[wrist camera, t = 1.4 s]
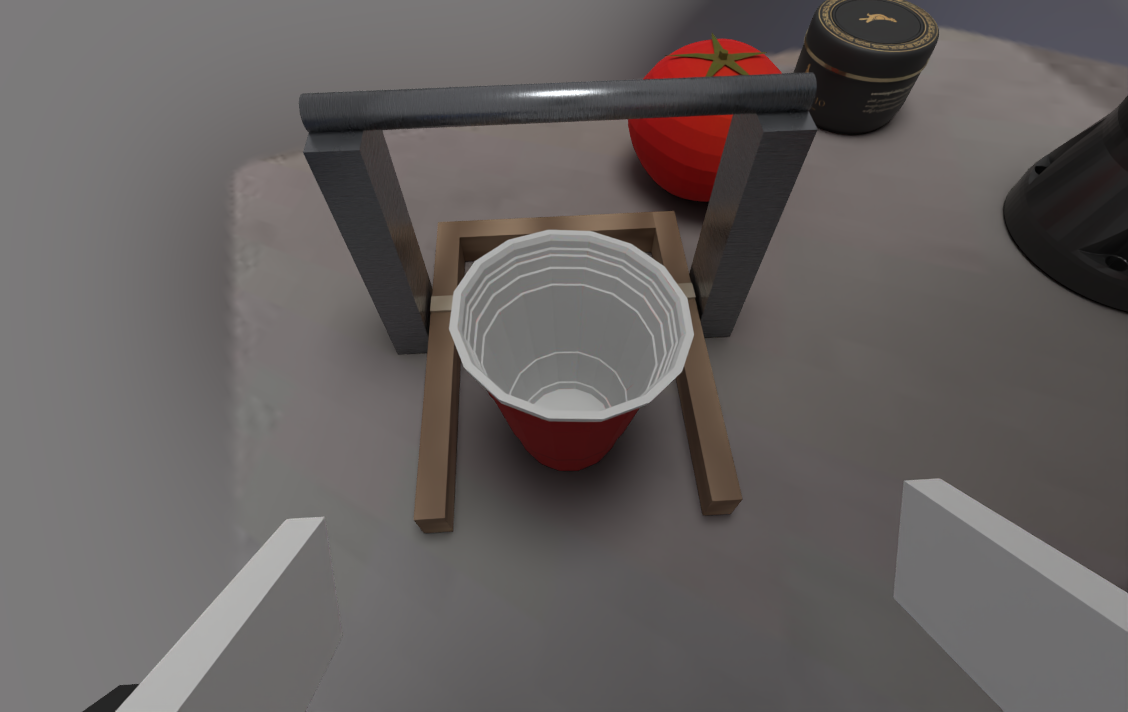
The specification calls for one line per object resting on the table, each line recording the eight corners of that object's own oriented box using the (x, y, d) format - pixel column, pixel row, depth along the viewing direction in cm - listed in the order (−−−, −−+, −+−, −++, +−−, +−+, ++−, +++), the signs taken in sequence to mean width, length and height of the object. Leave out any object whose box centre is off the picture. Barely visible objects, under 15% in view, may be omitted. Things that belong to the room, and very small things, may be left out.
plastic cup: (696, 446, 34) (750, 332, 24) (547, 552, 31) (536, 471, 21) (590, 326, 39) (598, 189, 29) (451, 406, 36) (405, 283, 25)
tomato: (693, 116, 51) (720, -9, 43) (799, 189, 46) (854, 63, 37) (598, 167, 48) (605, 42, 39) (701, 251, 43) (735, 129, 34)
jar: (763, 88, 54) (789, 3, 47) (849, 65, 56) (886, -20, 49) (827, 151, 49) (866, 65, 42) (920, 123, 51) (971, 37, 44)
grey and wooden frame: (702, 233, 43) (770, -10, 29) (776, 510, 32) (951, 337, 17) (410, 248, 43) (328, 6, 28) (376, 536, 31) (209, 378, 17)
